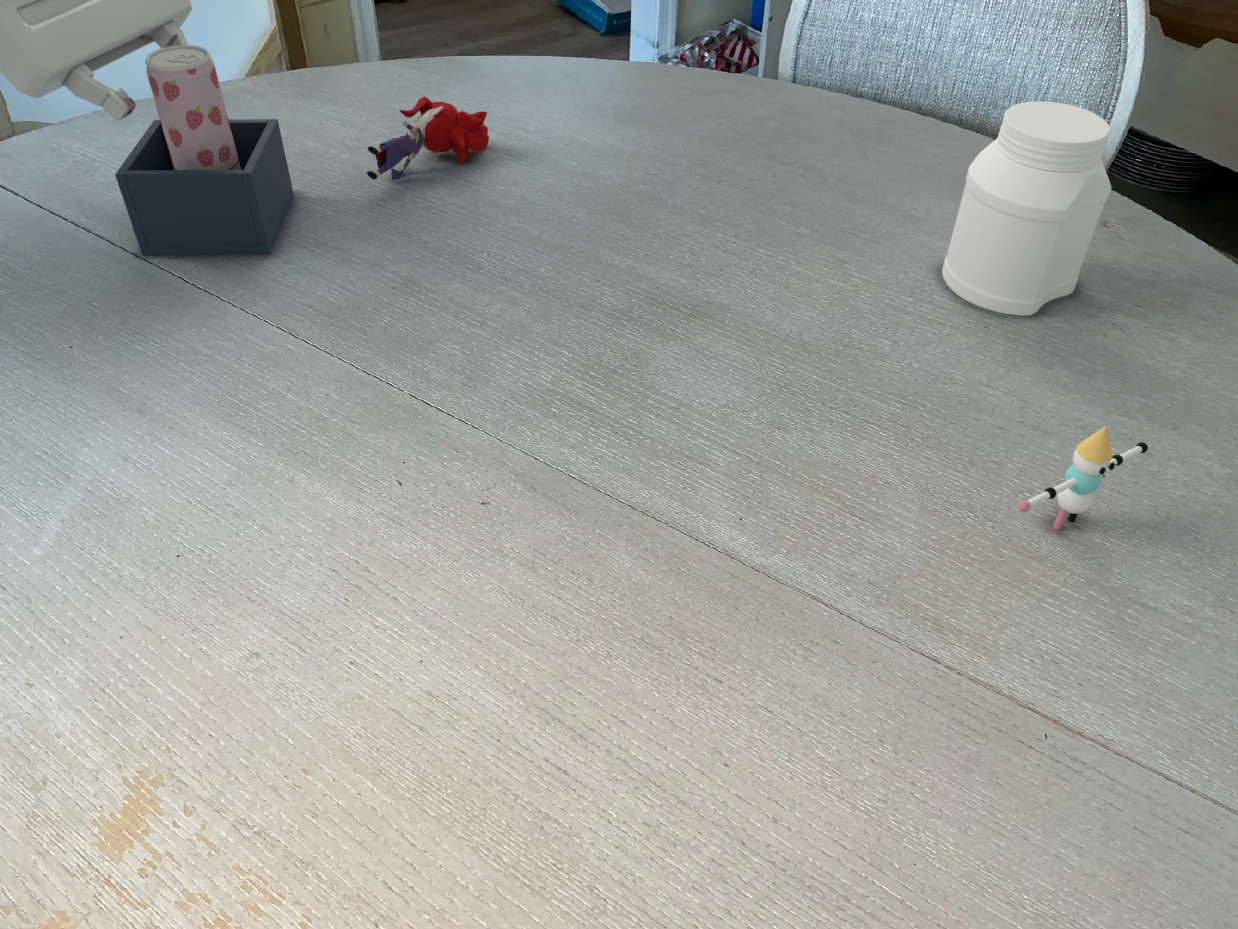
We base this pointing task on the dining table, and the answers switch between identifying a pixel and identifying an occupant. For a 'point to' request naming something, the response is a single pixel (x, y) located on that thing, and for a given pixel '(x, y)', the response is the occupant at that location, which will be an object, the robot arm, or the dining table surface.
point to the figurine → (432, 136)
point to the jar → (1029, 209)
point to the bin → (208, 195)
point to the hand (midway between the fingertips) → (163, 93)
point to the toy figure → (1083, 476)
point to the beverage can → (191, 108)
